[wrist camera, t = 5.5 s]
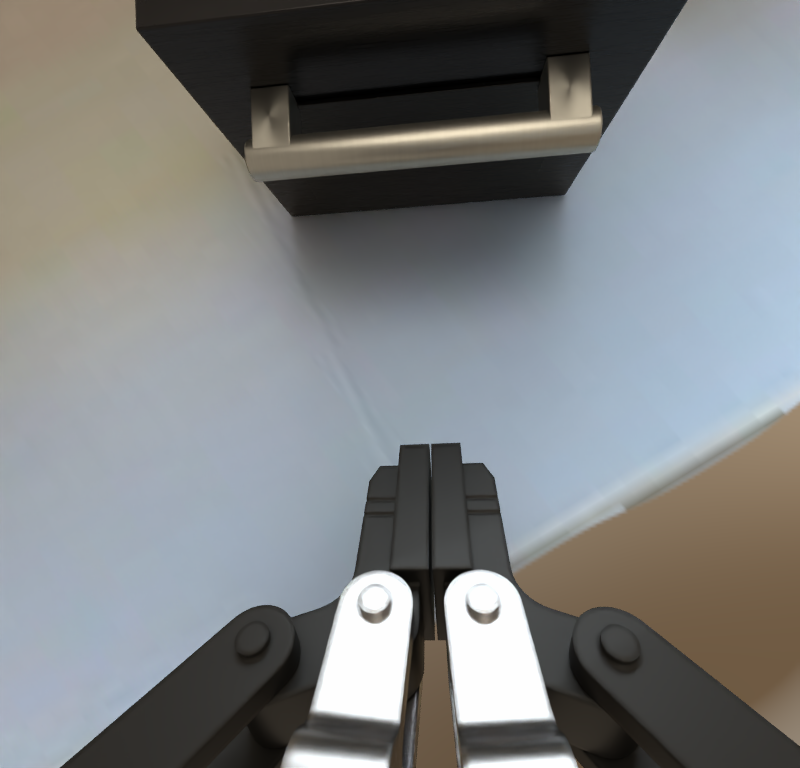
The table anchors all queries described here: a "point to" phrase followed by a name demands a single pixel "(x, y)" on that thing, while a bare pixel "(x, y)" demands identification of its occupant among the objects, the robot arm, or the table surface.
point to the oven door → (408, 91)
